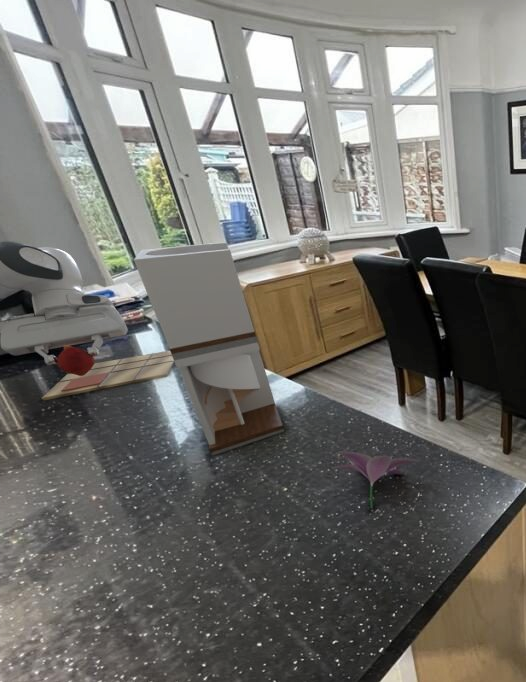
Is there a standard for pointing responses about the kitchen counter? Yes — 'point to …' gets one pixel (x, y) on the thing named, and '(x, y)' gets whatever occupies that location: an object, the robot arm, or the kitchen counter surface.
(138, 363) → the grid board
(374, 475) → the lily
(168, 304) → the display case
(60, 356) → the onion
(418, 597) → the kitchen counter surface
